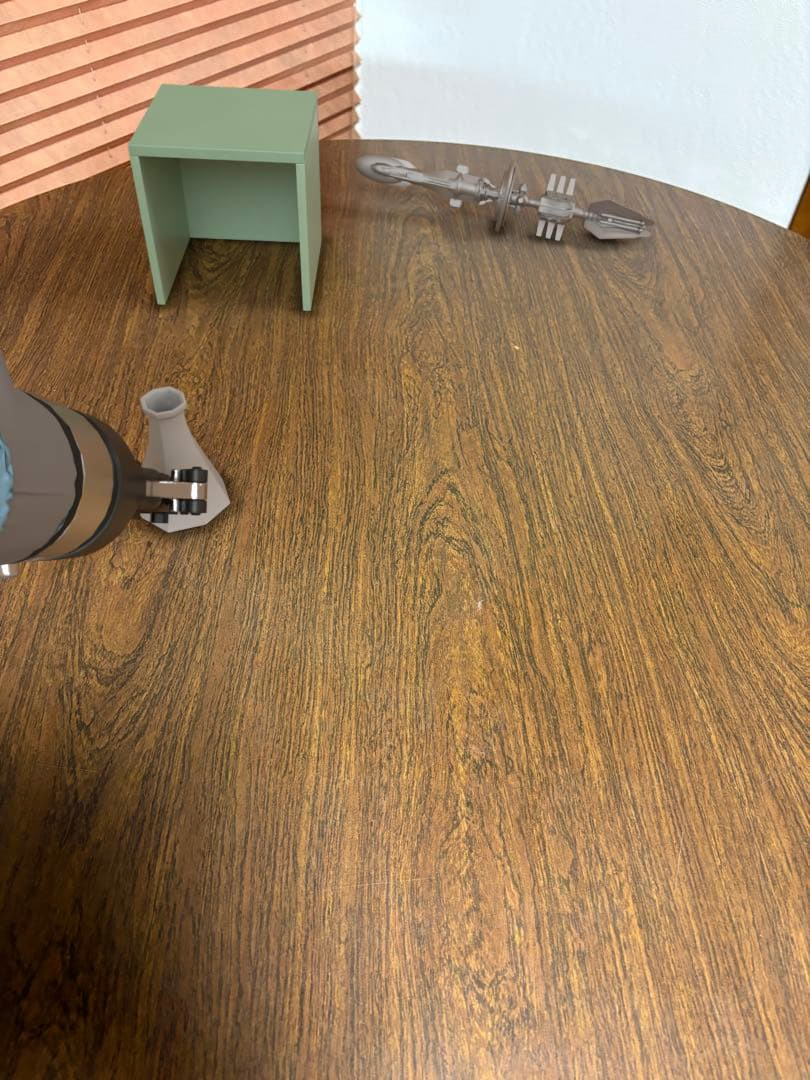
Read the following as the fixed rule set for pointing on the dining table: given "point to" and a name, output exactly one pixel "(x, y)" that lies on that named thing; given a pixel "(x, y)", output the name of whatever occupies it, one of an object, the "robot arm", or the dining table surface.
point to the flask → (178, 453)
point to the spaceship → (511, 197)
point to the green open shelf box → (228, 173)
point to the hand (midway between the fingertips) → (168, 496)
